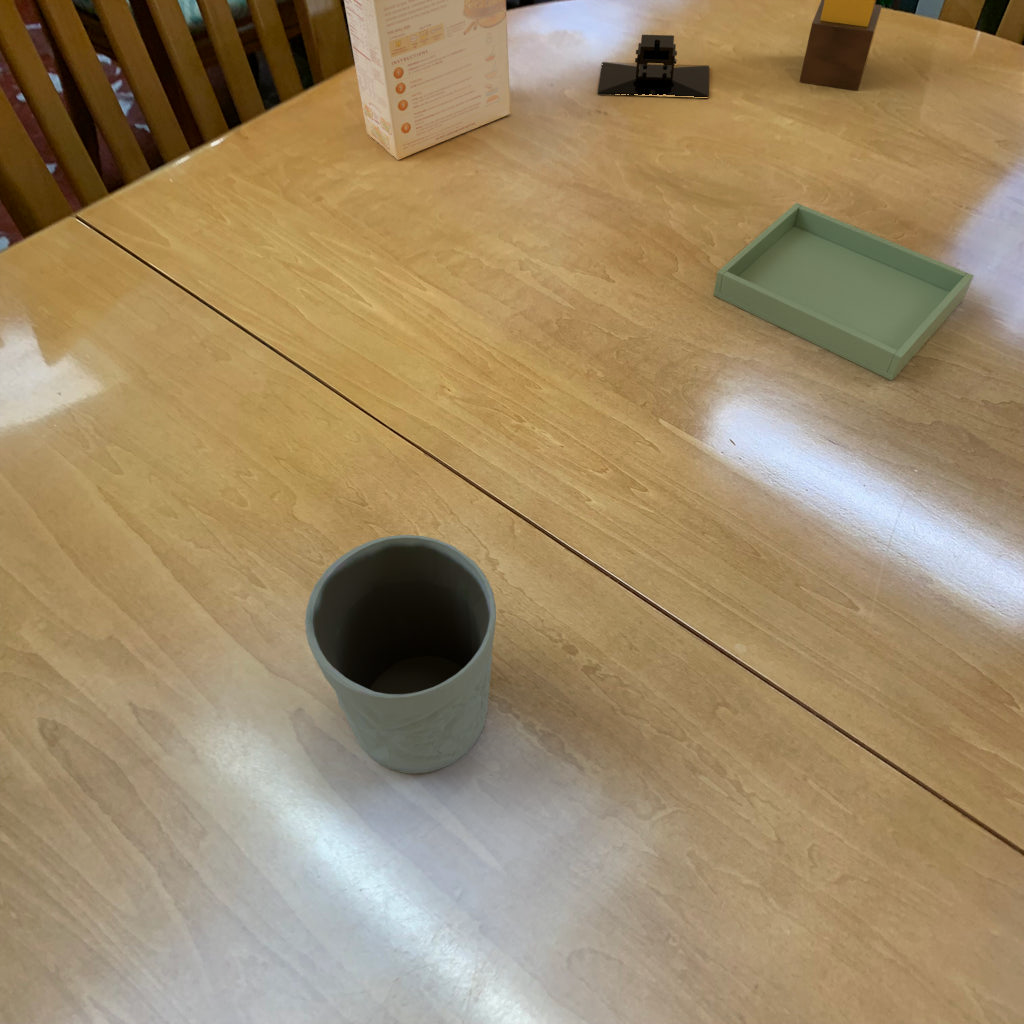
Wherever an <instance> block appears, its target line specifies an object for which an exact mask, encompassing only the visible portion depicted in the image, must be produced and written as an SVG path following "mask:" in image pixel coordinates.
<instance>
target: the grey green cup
mask: <svg viewBox="0 0 1024 1024" xmlns="http://www.w3.org/2000/svg"><path fill="white" fill-rule="evenodd" d="M496 622H497V605H496V600H495V594H494V591H493V589H492V586H491V584H490V581H489V580H488V578H487V576H486V575H485V572H484V571H483V570H482V568H480V567H479V565H478V564H477V563H476V561H474V560H473V559H472V558H470V556H468V555H466V554H465V553H464V552H462V551H461V550H459V549H458V547H456V546H454V545H452V544H449V543H447V542H444V541H442V540H439V539H438V538H433V537H429V536H425V535H415V534H398V535H391V536H384V537H380V538H376V539H372V540H370V541H367V542H365V543H363V544H360V545H358V546H355V547H354V548H352V549H350V550H349V551H347V552H346V553H344V554H343V555H341V556H340V557H339V558H338V559H336V560H335V561H334V562H333V563H331V564H330V565H329V566H328V567H327V568H326V569H325V570H324V572H323V573H322V575H321V576H320V577H319V579H318V580H317V581H316V583H315V584H314V586H313V589H312V590H311V593H310V595H309V598H308V601H307V605H306V609H305V619H304V626H305V627H304V628H305V635H306V640H307V644H308V646H309V649H310V651H311V653H312V655H313V657H314V659H315V662H316V663H317V665H318V668H319V669H320V671H321V673H322V674H323V677H324V678H325V680H326V681H327V682H328V683H329V685H330V686H331V688H332V689H333V690H334V692H335V695H336V699H337V703H338V706H339V708H340V709H341V710H342V711H343V712H344V715H345V717H346V720H347V723H348V725H349V727H350V729H351V731H352V733H353V735H354V737H355V739H356V740H357V742H358V744H359V745H360V747H361V748H362V750H363V751H364V752H365V753H366V755H368V756H369V757H370V758H371V759H372V760H373V761H375V762H377V763H378V764H380V765H381V766H383V767H385V768H387V769H389V770H393V771H396V772H398V773H399V772H400V773H403V774H426V773H432V772H436V771H439V770H442V769H444V768H446V767H448V766H451V765H452V764H453V763H455V762H457V761H458V760H460V759H461V758H463V756H465V755H466V754H467V753H468V752H469V751H470V750H471V749H472V748H473V746H474V745H475V744H476V742H477V740H478V739H479V738H480V736H481V734H482V732H483V730H484V728H485V724H486V721H487V718H488V710H489V696H490V687H491V686H490V682H491V676H492V663H493V655H492V652H493V649H494V645H493V644H494V638H495V630H496Z"/></svg>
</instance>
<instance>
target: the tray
mask: <svg viewBox="0 0 1024 1024" xmlns="http://www.w3.org/2000/svg"><path fill="white" fill-rule="evenodd" d="M716 273H717V274H716V276H715V277H716V278H715V284H714V290H713V296H714V297H716V298H718V299H720V300H721V301H725V302H726V303H729V304H731V305H733V306H734V307H737V308H739V309H741V310H743V311H745V312H747V313H749V314H751V315H753V316H756V317H758V318H760V319H762V320H764V321H766V322H768V323H769V324H772V325H774V326H776V327H778V328H781V329H783V330H784V331H787V332H789V333H791V334H793V335H795V336H797V337H799V338H802V339H803V340H805V341H807V342H809V343H812V344H814V345H816V346H819V347H821V348H823V349H825V350H827V351H828V352H831V353H833V354H835V355H837V356H839V357H841V358H843V359H845V360H848V361H849V362H851V363H853V364H856V365H857V366H860V367H862V368H864V369H866V370H868V371H870V372H872V373H874V374H876V375H879V376H881V377H883V378H885V379H886V380H889V381H893V380H895V378H896V377H897V376H898V375H899V373H900V372H901V371H903V369H904V368H905V367H906V366H907V364H908V363H909V362H910V361H911V360H912V358H914V356H915V355H917V353H918V352H919V351H920V350H921V348H922V347H923V346H924V345H925V344H926V343H927V341H928V340H929V339H930V338H931V337H932V336H933V335H934V333H935V332H936V331H937V330H938V329H939V328H940V327H941V325H942V324H944V322H945V321H946V320H947V319H948V317H950V315H951V314H952V313H953V312H954V311H955V310H956V308H957V307H958V306H959V305H960V304H961V303H962V301H963V300H964V299H965V297H966V294H967V292H968V290H969V288H970V285H971V283H972V281H973V279H974V276H975V275H974V274H973V273H972V274H971V273H969V272H967V271H965V270H961V269H959V268H957V267H954V266H953V265H949V264H947V263H945V262H942V261H940V260H937V259H935V258H932V257H930V256H927V255H925V254H923V253H920V252H917V251H915V250H913V249H910V248H908V247H906V246H903V245H901V244H898V243H896V242H894V241H891V240H888V239H886V238H884V237H882V236H879V235H876V234H874V233H871V232H869V231H866V230H864V229H862V228H859V227H858V226H857V227H856V225H855V226H854V225H852V224H849V223H847V222H844V221H842V220H839V219H838V218H835V217H833V216H831V215H828V214H825V213H822V212H820V211H817V210H815V209H813V208H812V207H811V208H810V207H809V206H806V205H803V204H801V203H798V202H795V203H794V204H793V205H792V206H791V207H789V209H787V210H786V211H785V212H784V213H783V214H782V215H781V216H779V218H777V219H776V220H775V221H773V223H771V224H770V225H769V226H768V227H767V228H765V229H764V230H763V231H762V232H761V233H760V234H759V235H757V236H756V237H755V238H754V239H753V240H751V242H750V243H749V244H748V245H746V246H745V247H744V248H742V250H741V251H740V252H738V253H737V254H736V255H734V257H733V258H731V259H730V260H729V261H728V262H726V263H725V265H723V266H722V267H721V268H720V269H719V270H718V271H717V272H716Z"/></svg>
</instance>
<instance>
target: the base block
mask: <svg viewBox="0 0 1024 1024" xmlns="http://www.w3.org/2000/svg"><path fill="white" fill-rule="evenodd" d="M824 2H825V0H820V2H819V5H818V8H817V10H816V12H815V15H814V18H813V20H812V22H811V26H810V30H809V35H808V40H807V45H806V49H805V53H804V58H803V63H802V68H801V72H800V77H799V83H803V82H804V84H811V85H816V86H824V87H830V88H831V87H832V88H838V89H845V90H850V91H859V89H860V85H861V83H862V79H863V75H864V73H865V69H866V66H867V64H868V60H869V55H870V52H871V49H872V45H873V40H874V37H875V34H876V30H877V26H878V22H879V19H880V15H881V11H882V8H883V5H882V4H876V3H875V6H874V10H873V13H872V16H871V19H870V22H869V25H868V27H864V26H857V25H849V24H842V23H834V22H827V21H821V16H822V11H823V7H824Z"/></svg>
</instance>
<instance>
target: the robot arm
mask: <svg viewBox="0 0 1024 1024" xmlns="http://www.w3.org/2000/svg"><path fill="white" fill-rule="evenodd" d="M901 2H902V0H893V1H892V5H891V9H892V10H893V11H897V12H898V11H899V8H900V5H901Z"/></svg>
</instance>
